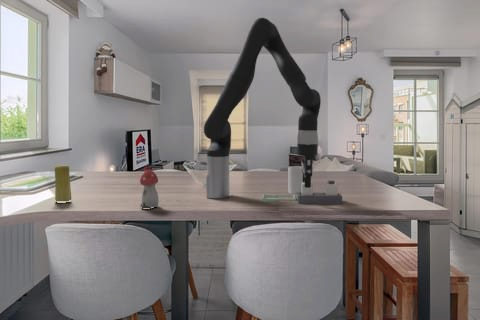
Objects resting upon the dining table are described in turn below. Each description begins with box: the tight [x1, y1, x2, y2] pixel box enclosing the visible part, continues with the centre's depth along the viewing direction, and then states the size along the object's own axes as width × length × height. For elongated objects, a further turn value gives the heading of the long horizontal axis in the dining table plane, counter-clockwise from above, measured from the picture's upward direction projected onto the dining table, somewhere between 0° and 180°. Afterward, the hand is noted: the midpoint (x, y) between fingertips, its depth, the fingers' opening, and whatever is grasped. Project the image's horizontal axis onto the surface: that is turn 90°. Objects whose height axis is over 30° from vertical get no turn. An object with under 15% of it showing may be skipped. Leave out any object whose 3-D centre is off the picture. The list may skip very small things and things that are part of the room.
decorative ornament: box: [139, 166, 160, 208], centre depth 145 cm, size 9×6×15 cm
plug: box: [301, 180, 314, 196], centre depth 149 cm, size 4×4×8 cm
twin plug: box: [324, 180, 339, 196], centre depth 148 cm, size 4×4×8 cm
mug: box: [287, 165, 303, 195], centre depth 171 cm, size 10×7×12 cm, turn 167°
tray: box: [261, 194, 297, 203], centre depth 157 cm, size 13×9×2 cm
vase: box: [54, 165, 73, 201], centre depth 156 cm, size 6×6×14 cm
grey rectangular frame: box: [296, 192, 343, 205], centre depth 149 cm, size 16×7×4 cm, turn 86°
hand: (306, 185), depth 149 cm, fingers open, 8 cm apart
